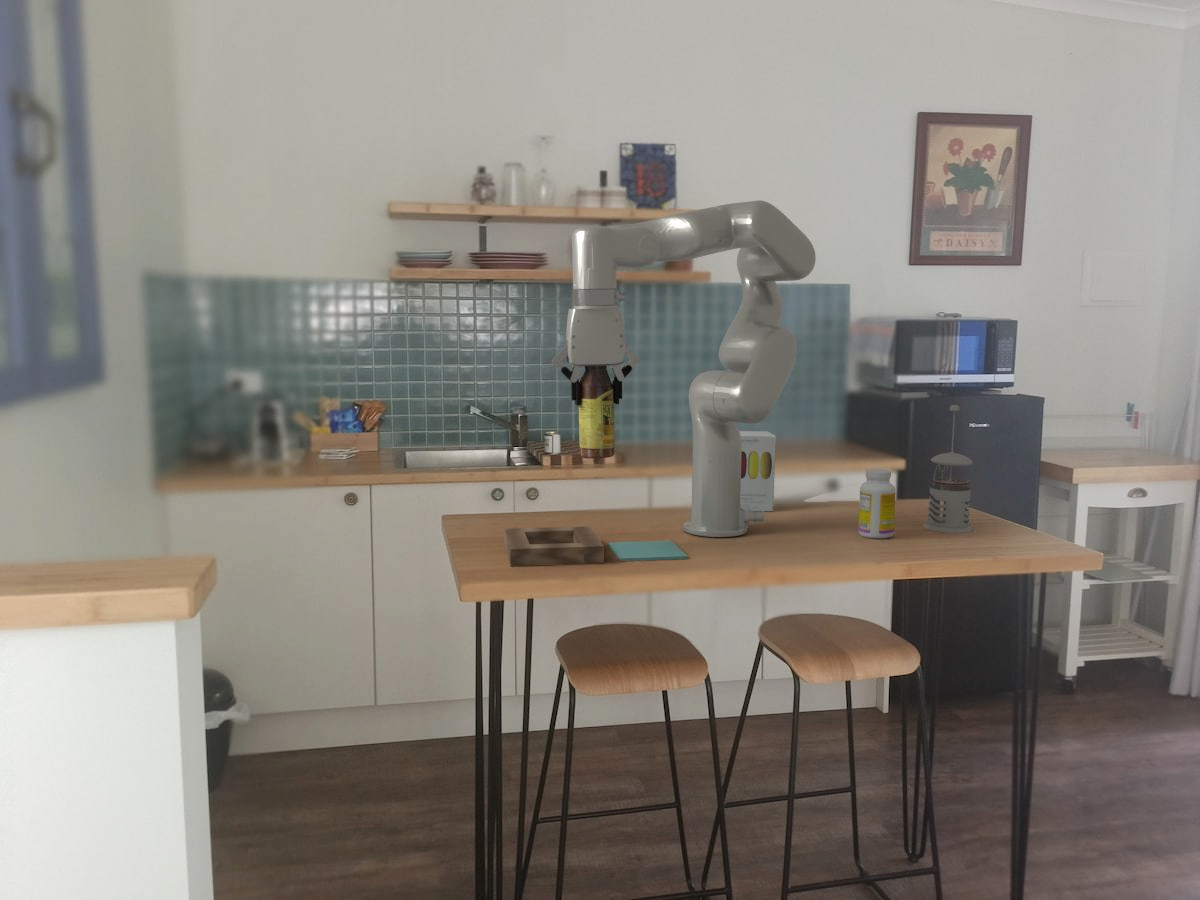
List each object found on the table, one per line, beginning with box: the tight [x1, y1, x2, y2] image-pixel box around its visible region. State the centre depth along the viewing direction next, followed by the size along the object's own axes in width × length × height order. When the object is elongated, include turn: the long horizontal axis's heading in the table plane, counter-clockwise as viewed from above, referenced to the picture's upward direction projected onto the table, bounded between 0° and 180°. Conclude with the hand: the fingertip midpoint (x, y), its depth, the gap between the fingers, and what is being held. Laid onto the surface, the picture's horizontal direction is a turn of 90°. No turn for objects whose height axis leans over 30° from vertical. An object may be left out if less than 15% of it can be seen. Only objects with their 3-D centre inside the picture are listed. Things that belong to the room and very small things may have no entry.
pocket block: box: [503, 525, 605, 567], centre depth 174 cm, size 16×16×3 cm
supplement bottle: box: [858, 468, 897, 540], centre depth 190 cm, size 7×7×13 cm
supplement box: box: [739, 430, 777, 513], centre depth 216 cm, size 10×9×17 cm
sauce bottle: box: [578, 366, 616, 460], centre depth 172 cm, size 7×6×20 cm
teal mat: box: [607, 540, 689, 562], centre depth 176 cm, size 12×12×1 cm
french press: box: [921, 404, 974, 534], centre depth 198 cm, size 10×12×25 cm
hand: (596, 403), depth 172 cm, fingers closed on sauce bottle, 6 cm apart
